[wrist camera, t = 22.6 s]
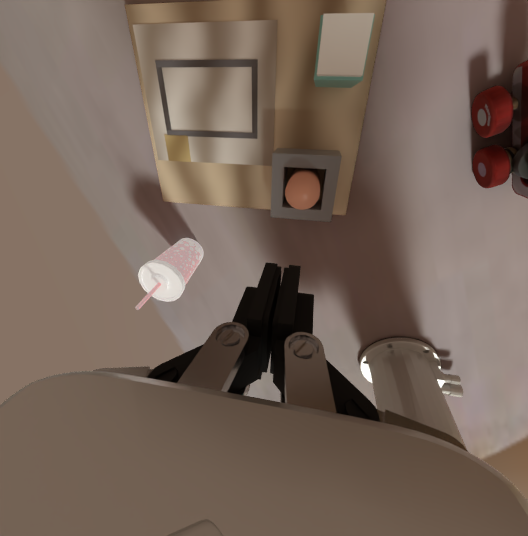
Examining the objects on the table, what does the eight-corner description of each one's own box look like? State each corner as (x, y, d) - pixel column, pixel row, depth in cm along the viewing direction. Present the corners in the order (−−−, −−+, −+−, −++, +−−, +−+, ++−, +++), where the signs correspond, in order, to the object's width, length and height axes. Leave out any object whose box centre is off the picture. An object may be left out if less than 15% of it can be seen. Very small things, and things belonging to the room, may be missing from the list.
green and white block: (357, 44, 24) (378, 8, 15) (349, 88, 26) (365, 78, 17) (320, 44, 25) (320, 9, 16) (315, 87, 26) (313, 77, 18)
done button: (321, 166, 30) (322, 176, 26) (318, 197, 32) (317, 210, 28) (290, 164, 30) (286, 174, 26) (288, 195, 32) (284, 208, 28)
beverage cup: (174, 227, 39) (111, 278, 27) (211, 241, 39) (165, 298, 28) (169, 259, 42) (112, 316, 31) (204, 272, 43) (160, 335, 31)
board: (386, -5, 23) (388, -9, 22) (344, 213, 33) (345, 215, 33) (128, 6, 26) (123, 4, 26) (165, 200, 37) (162, 201, 36)
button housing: (339, 150, 29) (341, 156, 26) (329, 210, 33) (330, 222, 29) (277, 147, 30) (272, 153, 27) (275, 206, 34) (270, 217, 30)
